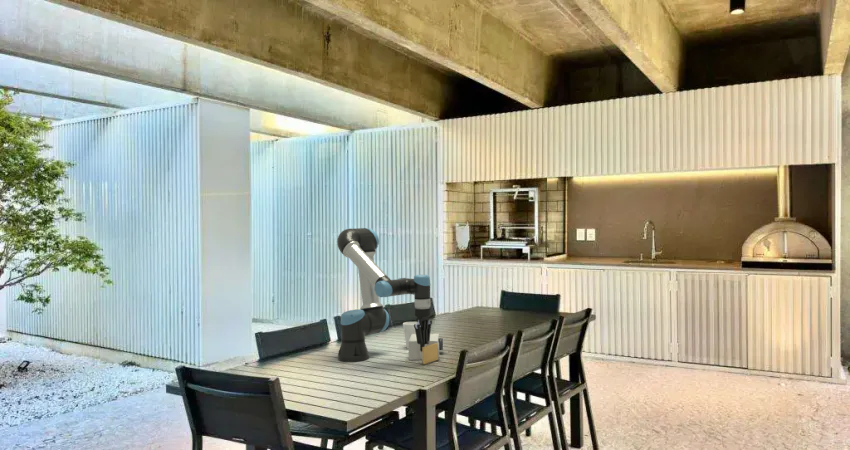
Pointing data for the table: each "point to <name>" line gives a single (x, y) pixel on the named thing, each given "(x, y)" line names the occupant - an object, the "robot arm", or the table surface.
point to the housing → (415, 347)
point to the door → (430, 353)
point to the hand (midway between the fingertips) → (423, 357)
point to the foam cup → (408, 331)
